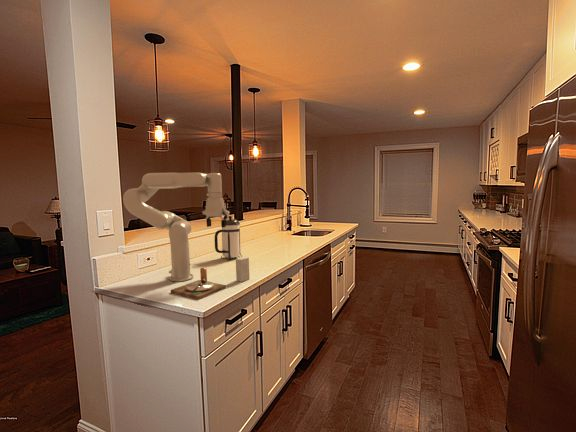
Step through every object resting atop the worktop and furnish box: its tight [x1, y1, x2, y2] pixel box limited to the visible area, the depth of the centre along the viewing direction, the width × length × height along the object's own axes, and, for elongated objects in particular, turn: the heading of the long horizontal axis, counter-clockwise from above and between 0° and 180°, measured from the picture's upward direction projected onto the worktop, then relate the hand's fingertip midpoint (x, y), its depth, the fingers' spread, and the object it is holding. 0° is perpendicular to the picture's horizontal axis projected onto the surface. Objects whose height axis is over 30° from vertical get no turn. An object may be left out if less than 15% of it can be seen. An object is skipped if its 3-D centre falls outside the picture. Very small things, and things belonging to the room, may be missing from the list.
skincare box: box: [235, 256, 250, 283], centre depth 169 cm, size 6×4×12 cm
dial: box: [186, 267, 215, 292], centre depth 151 cm, size 15×13×8 cm
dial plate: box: [170, 279, 227, 300], centre depth 153 cm, size 19×18×2 cm
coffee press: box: [214, 215, 243, 261], centre depth 219 cm, size 17×16×30 cm
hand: (216, 226), depth 173 cm, fingers open, 9 cm apart
